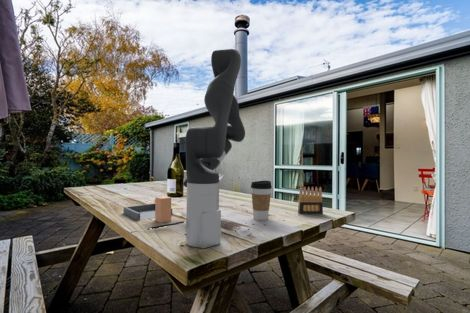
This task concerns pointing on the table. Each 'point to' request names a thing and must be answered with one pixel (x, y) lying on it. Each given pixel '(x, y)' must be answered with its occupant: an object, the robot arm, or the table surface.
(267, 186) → the coffee cup
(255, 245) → the table surface
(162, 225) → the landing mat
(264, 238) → the table surface
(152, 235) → the table surface
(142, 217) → the grey square tray
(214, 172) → the robot arm
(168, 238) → the table surface
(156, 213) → the block
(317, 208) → the ammunition clip
